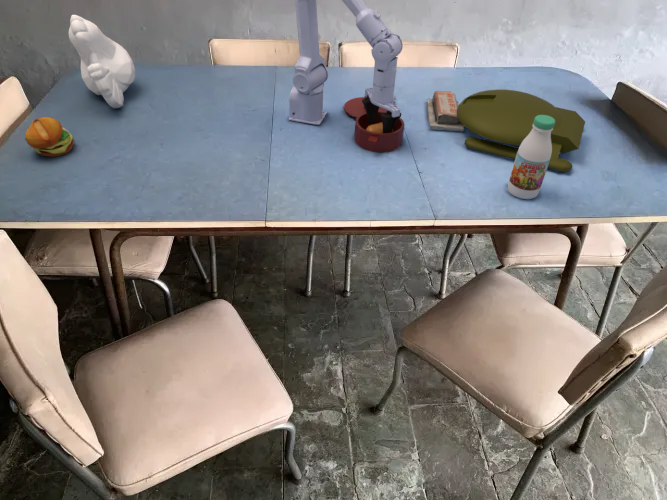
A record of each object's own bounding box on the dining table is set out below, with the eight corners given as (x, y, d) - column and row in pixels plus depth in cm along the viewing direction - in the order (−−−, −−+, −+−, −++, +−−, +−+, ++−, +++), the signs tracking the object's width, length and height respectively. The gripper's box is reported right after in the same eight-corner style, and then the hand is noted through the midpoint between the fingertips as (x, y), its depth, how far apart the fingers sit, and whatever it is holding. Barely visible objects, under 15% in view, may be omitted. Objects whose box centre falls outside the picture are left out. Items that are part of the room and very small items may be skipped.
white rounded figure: (89, 56, 175) (43, 8, 150) (137, 47, 174) (99, -2, 150) (95, 129, 170) (49, 92, 146) (145, 119, 170) (107, 81, 145)
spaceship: (582, 126, 165) (593, 95, 158) (569, 176, 143) (582, 143, 137) (468, 100, 175) (474, 71, 169) (440, 143, 154) (446, 111, 148)
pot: (346, 152, 149) (347, 134, 145) (363, 120, 163) (364, 103, 159) (395, 160, 146) (397, 142, 143) (407, 128, 160) (409, 111, 157)
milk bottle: (502, 182, 140) (523, 110, 127) (531, 182, 141) (555, 110, 128) (512, 200, 134) (535, 127, 121) (542, 199, 135) (568, 126, 122)
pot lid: (338, 117, 164) (339, 102, 161) (350, 97, 174) (351, 83, 171) (385, 125, 161) (387, 110, 158) (394, 104, 172) (396, 90, 168)
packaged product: (428, 88, 170) (460, 90, 170) (425, 102, 173) (457, 104, 173) (431, 115, 156) (466, 117, 156) (429, 130, 160) (463, 132, 159)
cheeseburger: (85, 142, 148) (70, 113, 140) (62, 169, 142) (44, 141, 134) (54, 134, 150) (37, 105, 142) (30, 161, 144) (10, 132, 136)
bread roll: (369, 145, 151) (371, 131, 148) (361, 138, 154) (362, 123, 151) (395, 138, 155) (396, 124, 152) (386, 131, 157) (388, 117, 154)
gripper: (412, 91, 140) (405, 138, 149) (381, 70, 150) (377, 115, 159) (389, 96, 138) (384, 144, 147) (359, 74, 147) (356, 120, 156)
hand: (379, 129), depth 153 cm, fingers open, 7 cm apart
